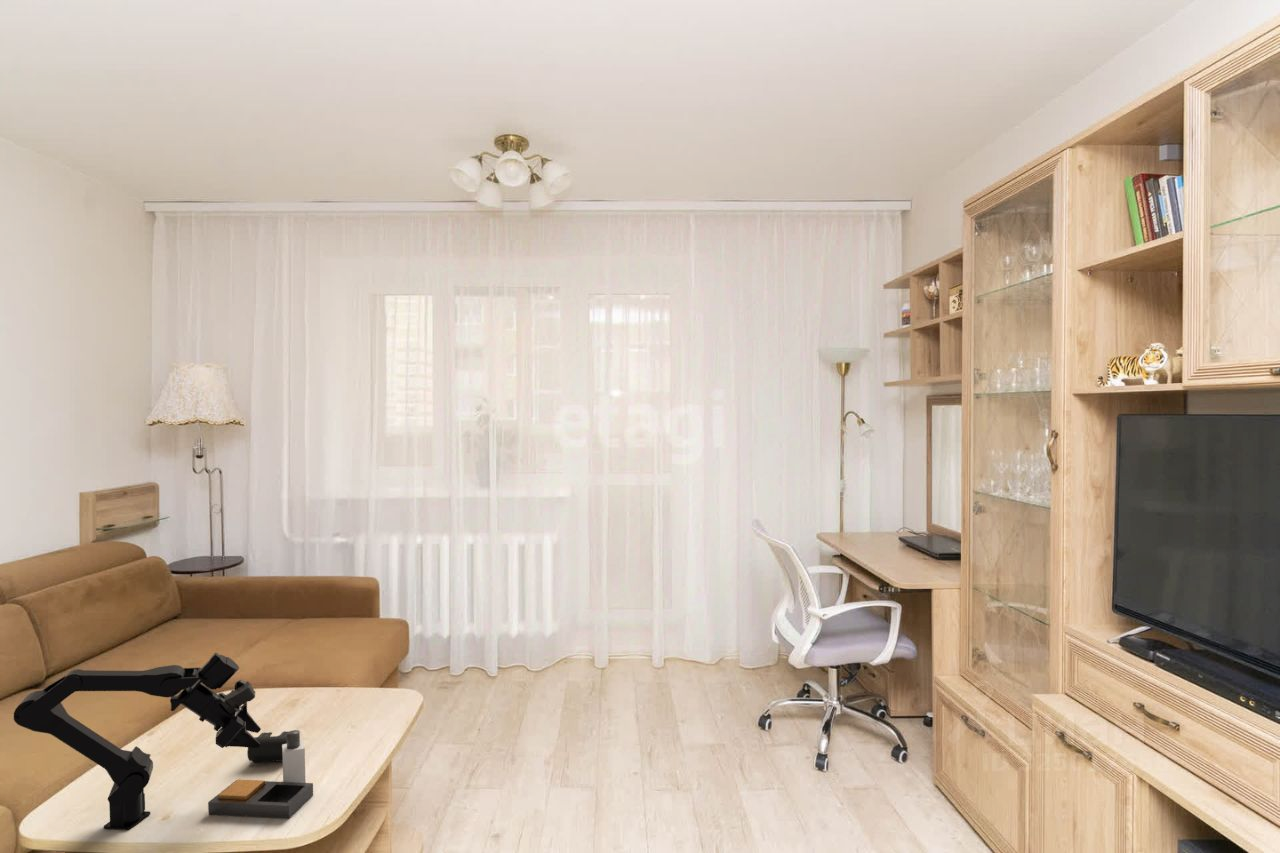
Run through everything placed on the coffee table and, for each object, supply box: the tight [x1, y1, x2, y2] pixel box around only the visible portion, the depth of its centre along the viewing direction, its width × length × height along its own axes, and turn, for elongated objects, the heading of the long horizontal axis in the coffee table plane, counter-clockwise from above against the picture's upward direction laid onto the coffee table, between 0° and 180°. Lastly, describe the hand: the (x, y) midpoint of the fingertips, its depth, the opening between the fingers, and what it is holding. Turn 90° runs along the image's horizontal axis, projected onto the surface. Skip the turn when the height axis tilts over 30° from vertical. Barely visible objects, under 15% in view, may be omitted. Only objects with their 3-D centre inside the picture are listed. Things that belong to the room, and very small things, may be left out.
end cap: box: [247, 730, 289, 763], centre depth 192 cm, size 10×7×7 cm
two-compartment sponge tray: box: [207, 778, 314, 820], centre depth 170 cm, size 10×20×4 cm, turn 84°
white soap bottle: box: [282, 729, 307, 783], centre depth 179 cm, size 5×5×13 cm
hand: (259, 738), depth 176 cm, fingers open, 9 cm apart
